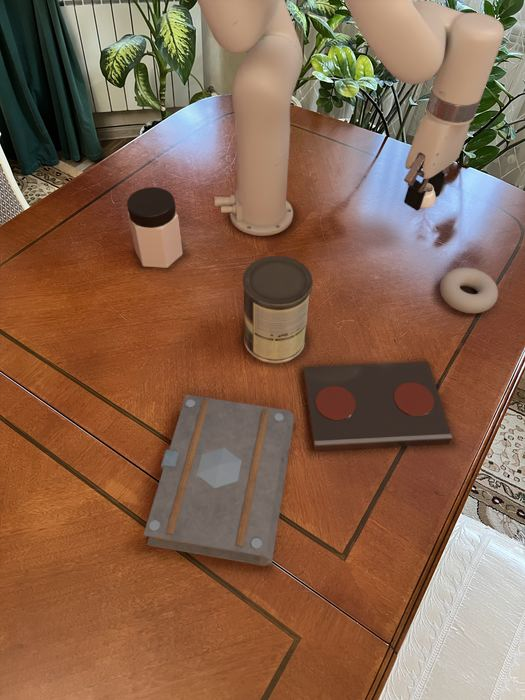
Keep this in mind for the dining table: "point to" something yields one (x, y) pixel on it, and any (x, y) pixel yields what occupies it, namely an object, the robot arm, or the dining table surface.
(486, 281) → the donut
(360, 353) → the dining table surface
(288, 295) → the coffee can
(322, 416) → the hob
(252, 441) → the book
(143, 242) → the jar
